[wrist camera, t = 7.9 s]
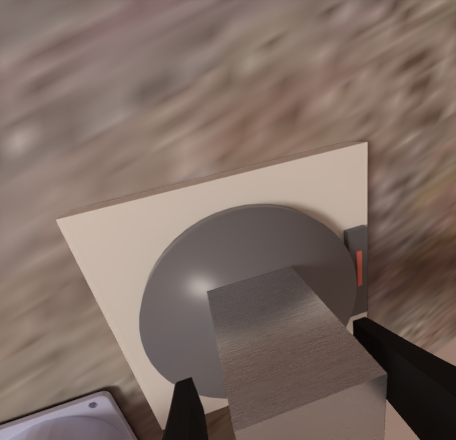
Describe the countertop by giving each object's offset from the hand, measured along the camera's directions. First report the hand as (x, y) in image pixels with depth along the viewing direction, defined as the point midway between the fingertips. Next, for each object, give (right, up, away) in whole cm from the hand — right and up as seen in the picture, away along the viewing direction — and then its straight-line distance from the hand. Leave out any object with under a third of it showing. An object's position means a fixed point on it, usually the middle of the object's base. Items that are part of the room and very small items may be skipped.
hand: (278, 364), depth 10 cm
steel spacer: (-1, +1, +3) cm, 3 cm away
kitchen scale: (-1, +2, +5) cm, 5 cm away
